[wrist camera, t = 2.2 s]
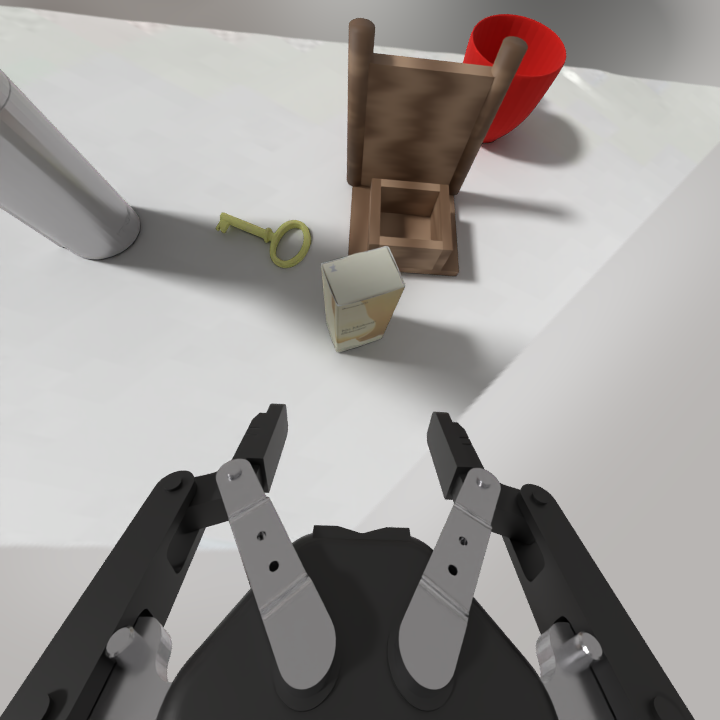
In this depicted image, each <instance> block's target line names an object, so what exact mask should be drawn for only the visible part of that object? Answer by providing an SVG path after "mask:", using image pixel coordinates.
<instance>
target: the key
mask: <svg viewBox="0 0 720 720" xmlns="http://www.w3.org/2000/svg"><path fill="white" fill-rule="evenodd" d="M230 225H231V226H234V227H236V228H239V229H241V230H244V231H246V232H249V233H251V234H254V235H256V236H259V237H261V238H263V239H264V241H265V242H266V243H268V242H269V241H271V244H270V257H271V259H272V261H273V262H274V263H275V264H276V265H277V266H279V267H282V268H289V267H293V266H295V265H296V264H298V263H299V262H300V261H302V260H303V258H304V257H305V256H306V254H307V252H308V250H309V247H310V244H311V236H310V232H309V230H308V228H307V226H306V225H305V224H304V223H302V222H300V221H298V220H290V221H287V222H285V223H284V224H282V225H281V226H280V227H279V228H278V230H277V231H276V232H275V233H273V232H272V230H271V228H267V229H266V230H265V229H263V228H261V227H258V226H256V225H253V224H251V223H248V222H246V221H243V220H241V219H238V218H236V217H233V216H231V215H228V214H226V213H221V215H220V222H219V223H218V225H217V227H216V230H218V231H219V230H221V232H223V233H225V232H226V231H227V229H228V227H229V226H230ZM292 228H298V229H301V230H302V231H303V234H304V241H303V245H302V248H301V250H300V251H299V253H298V254H297V255H296V256H295V257H293V258H292V259H290V260H287V261H283V260H280V259H278V258H277V257H276V248H277V245H278V243H279V241H280V239H281V238H282V236H283V235H284V234H285V233H286V232H287V231H289V230H290V229H292Z"/></svg>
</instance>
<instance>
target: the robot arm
mask: <svg viewBox="0 0 720 720" xmlns="http://www.w3.org/2000/svg"><path fill="white" fill-rule="evenodd" d="M0 208H1V209H3V210H4V211H6V212H8V213H9V214H11V215H12V216H14V217H15V218H17V219H18V220H20V221H21V222H23V223H24V224H26V225H28V226H29V227H31V228H32V229H34V230H35V231H37V232H38V233H40V234H41V235H43V236H44V237H46V238H47V239H49V240H51V241H52V242H54V243H55V244H57V245H58V246H60V247H65V248H67V249H68V250H70V251H71V252H73V253H74V254H76V255H78V256H80V257H83V258H87V259H104V258H108V257H112V256H114V255H117V254H119V253H121V252H122V251H124V250H125V249H127V248H128V247H129V246H130V245H131V244H132V243H133V242H134V240H135V239H136V238H137V236H138V233H139V230H140V220H139V217H138V215H137V213H136V212H135V211H134V210H133V208H132V207H131V206H130V205H129V204H128V203H127V202H126V201H125V200H124V199H123V198H122V197H121V196H120V195H119V194H118V193H117V192H116V191H115V189H114V188H113V187H112V186H111V185H110V184H109V183H108V182H107V181H106V180H105V179H104V178H103V177H102V176H101V175H100V173H99V172H98V171H97V170H96V169H95V168H94V167H93V166H92V165H91V164H90V163H89V162H88V161H87V160H86V159H85V158H84V157H83V156H82V155H81V153H80V152H79V151H78V150H77V149H76V148H75V147H74V146H73V145H72V144H71V143H70V142H69V141H68V140H67V139H66V138H65V137H64V136H63V135H62V133H61V132H60V131H59V130H58V129H57V128H56V127H55V126H54V125H53V124H52V123H51V122H50V121H49V120H48V119H47V118H46V117H45V116H44V115H43V113H42V112H41V111H40V110H39V109H38V108H37V107H36V106H35V105H34V104H33V103H32V102H31V101H30V100H29V99H28V98H27V97H26V96H25V95H24V93H23V92H22V91H21V90H20V89H19V88H18V87H17V86H16V85H15V84H14V83H13V82H12V81H11V80H10V79H9V78H8V77H7V76H6V75H5V74H4V73H3V71H2V70H1V69H0ZM287 432H288V421H287V410H286V405H285V404H270V406H269V408H268V411H267V413H259V414H258V415H257V416H256V417H255V418H254V419H252V421H251V423H250V425H249V428H248V429H247V431H246V433H245V435H244V437H243V439H242V441H241V443H240V445H239V447H238V449H237V451H236V453H235V455H234V457H233V459H232V460H231V461H229V462H227V463H225V464H224V465H223V466H221V467H220V469H219V470H218V471H217V472H214V473H211V474H207V475H203V476H198V477H194V476H193V474H192V473H191V472H189V471H177V472H174V473H171V474H169V475H167V476H166V477H164V478H163V479H161V480H160V481H159V482H158V483H157V485H156V486H155V487H154V489H153V490H152V492H151V493H150V495H149V496H148V498H147V499H146V501H145V502H144V504H143V505H142V507H141V508H140V510H139V511H138V513H137V514H136V516H135V517H134V519H133V520H132V522H131V523H130V525H129V526H128V528H127V529H126V531H125V532H124V534H123V535H122V537H121V538H120V540H119V541H118V542H117V544H116V545H115V547H114V548H113V550H112V551H111V553H110V555H109V556H108V557H107V559H106V560H105V562H104V563H103V565H102V566H101V568H100V569H99V571H98V572H97V574H96V575H95V577H94V578H93V580H92V581H91V583H90V584H89V586H88V587H87V589H86V590H85V592H84V593H83V595H82V596H81V598H80V599H79V601H78V602H77V604H76V605H75V607H74V608H73V610H72V611H71V613H70V614H69V615H68V617H67V618H66V620H65V621H64V623H63V624H62V626H61V627H60V629H59V630H58V632H57V633H56V635H55V636H54V638H53V639H52V641H51V642H50V644H49V645H48V647H47V648H46V650H45V651H44V653H43V654H42V656H41V657H40V659H39V660H38V662H37V663H36V665H35V666H34V668H33V669H32V671H31V672H30V674H29V675H28V676H27V678H26V680H25V681H24V683H23V684H22V686H21V687H20V688H19V690H18V691H17V693H16V694H15V696H14V697H13V699H12V700H11V702H10V703H9V705H8V706H7V708H6V709H5V711H4V712H3V714H2V715H1V717H0V720H695V719H694V718H693V716H692V715H691V713H690V712H689V710H688V708H687V707H686V705H685V704H684V702H683V701H682V699H681V697H680V696H679V694H678V693H677V691H676V689H675V688H674V686H673V685H672V683H671V682H670V680H669V678H668V677H667V675H666V674H665V672H664V671H663V669H662V667H661V666H660V664H659V663H658V661H657V660H656V658H655V656H654V655H653V654H652V652H651V650H650V649H649V647H648V645H647V644H646V643H645V641H644V639H643V638H642V636H641V634H640V633H639V631H638V630H637V628H636V626H635V625H634V623H633V622H632V620H631V619H630V617H629V616H628V614H627V612H626V611H625V609H624V608H623V606H622V604H621V603H620V601H619V600H618V598H617V597H616V595H615V593H614V592H613V590H612V589H611V587H610V586H609V584H608V582H607V581H606V579H605V578H604V576H603V574H602V573H601V571H600V570H599V568H598V567H597V565H596V564H595V562H594V561H593V559H592V557H591V556H590V554H589V552H588V551H587V549H586V548H585V546H584V545H583V543H582V541H581V540H580V539H579V537H578V535H577V534H576V532H575V530H574V529H573V527H572V526H571V524H570V522H569V521H568V519H567V518H566V516H565V515H564V513H563V511H562V510H561V508H560V507H559V505H558V504H557V502H556V500H555V499H554V498H553V497H552V496H551V494H549V493H548V492H547V491H546V490H544V489H543V488H541V487H539V486H536V485H533V484H526V485H523V486H522V488H521V490H519V489H516V488H512V487H509V486H506V485H503V484H501V483H499V481H498V480H497V478H496V477H495V476H494V475H493V474H492V473H490V472H489V471H487V470H485V469H484V467H483V465H482V464H481V461H480V459H479V457H478V455H477V453H476V451H475V449H474V448H473V446H472V443H471V441H470V439H468V435H467V433H466V431H465V429H464V428H462V427H461V426H460V425H459V424H458V423H457V422H452V420H451V418H450V415H449V414H448V413H447V412H433V414H432V417H431V420H430V424H429V428H428V432H427V443H428V446H429V450H430V453H431V456H432V459H433V462H434V466H435V469H436V472H437V475H438V479H439V482H440V485H441V488H442V492H443V495H444V498H445V499H449V500H453V502H454V505H453V508H452V510H451V512H450V514H449V517H448V519H447V521H446V524H445V526H444V528H443V530H442V532H441V535H440V537H439V539H438V541H437V544H436V546H435V548H434V550H432V549H431V548H430V547H429V546H428V545H426V544H425V543H424V542H422V541H420V540H419V539H416V538H414V537H411V536H410V530H409V528H392V527H389V528H388V527H386V528H382V529H378V530H374V531H370V532H367V533H358V532H355V531H352V530H349V529H346V528H342V527H339V526H321V525H314V529H313V533H312V534H308V535H306V536H303V537H301V538H299V539H298V540H296V541H295V542H293V543H291V541H290V539H289V537H288V535H287V532H286V530H285V528H284V526H283V524H282V522H281V520H280V518H279V516H278V514H277V512H276V510H275V508H274V506H273V504H272V502H271V500H270V498H269V497H266V495H265V493H269V491H270V488H271V485H272V482H273V478H274V475H275V472H276V469H277V466H278V463H279V459H280V456H281V453H282V450H283V447H284V444H285V440H286V437H287ZM226 521H229V523H230V526H231V529H232V532H233V535H234V538H235V541H236V544H237V547H238V550H239V553H240V556H241V559H242V562H243V566H244V568H245V572H246V575H247V578H248V581H249V584H250V587H251V589H250V590H249V591H248V592H247V593H246V595H245V596H244V597H243V598H242V599H241V600H240V602H238V604H237V605H236V606H235V607H234V608H233V609H232V611H231V612H230V613H229V614H228V615H227V616H226V617H225V619H224V620H223V621H222V622H221V623H220V624H219V625H218V626H217V628H216V629H215V630H214V631H213V632H212V633H211V634H210V636H209V637H208V638H207V639H206V640H205V641H204V643H203V644H202V645H201V646H200V647H199V648H198V649H197V650H196V651H195V653H194V654H193V655H192V656H191V657H190V658H189V660H188V661H187V662H186V663H185V664H184V666H183V667H182V668H181V670H180V671H179V673H178V674H177V676H176V677H175V679H174V681H173V682H172V683H169V682H168V679H167V666H168V661H169V658H170V654H171V649H172V641H171V637H170V635H169V634H168V632H167V631H166V630H165V629H164V625H165V623H166V620H167V618H168V616H169V613H170V611H171V609H172V606H173V604H174V602H175V599H176V597H177V594H178V592H179V590H180V587H181V585H182V583H183V580H184V578H185V575H186V573H187V571H188V568H189V566H190V563H191V561H192V559H193V557H194V554H195V552H196V550H197V547H198V545H199V542H200V540H201V538H202V535H203V533H204V531H205V528H206V527H209V526H212V525H215V524H219V523H222V522H226ZM491 532H494V533H497V534H500V535H502V537H503V540H504V542H505V545H506V547H507V550H508V552H509V555H510V557H511V560H512V563H513V565H514V568H515V570H516V573H517V575H518V578H519V580H520V583H521V585H522V588H523V590H524V593H525V595H526V598H527V600H528V603H529V605H530V608H531V610H532V613H533V616H534V618H535V621H536V623H537V626H538V628H539V631H540V633H541V636H540V637H539V638H538V640H537V643H536V653H537V657H538V661H539V665H540V671H541V678H540V677H539V676H538V674H537V673H536V671H535V670H534V668H533V667H532V666H531V665H530V663H529V662H528V661H527V660H526V658H525V657H524V656H523V655H522V654H521V652H520V651H519V650H518V649H517V648H516V647H515V645H514V644H513V643H512V642H511V641H510V639H509V638H508V637H507V636H506V635H505V634H504V632H503V631H502V630H501V629H500V628H499V627H498V625H497V624H496V623H495V622H494V621H493V619H492V618H491V617H490V616H489V615H488V614H487V612H486V611H485V610H484V609H483V608H482V606H481V605H480V604H479V603H478V602H477V601H476V599H475V598H474V597H473V595H474V592H475V588H476V585H477V581H478V577H479V574H480V570H481V566H482V563H483V559H484V556H485V552H486V548H487V545H488V541H489V537H490V534H491Z"/></svg>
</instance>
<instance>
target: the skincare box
mask: <svg viewBox="0 0 720 720" xmlns="http://www.w3.org/2000/svg"><path fill="white" fill-rule="evenodd" d="M321 271H322V281H323V292H324V303H325V313H326V323H327V327H328V330H329V333H330V336H331V339H332V342H333V344H334V347H335V349H336V351H337V352H342V351H346V350H349V349H352V348H356V347H359V346H362V345H365V344H367V343H370V342H373V341H376V340H378V339H381V338H382V337H383V334H384V332H385V330H386V328H387V325H388V323H389V321H390V319H391V317H392V314H393V312H394V310H395V308H396V305H397V303H398V301H399V299H400V297H401V294H402V292H403V290H404V288H405V283H404V281H403V279H402V276H401V274H400V271H399V269H398V267H397V264H396V262H395V260H394V257H393V255H392V253H391V251H390V248H389V247H388V246H384V247H381V248H377V249H373V250H369V251H365V252H361V253H356V254H352V255H349V256H346V257H343V258H339V259H335V260H332V261H328V262H323V263H321Z"/></svg>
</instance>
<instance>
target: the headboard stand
mask: <svg viewBox="0 0 720 720" xmlns="http://www.w3.org/2000/svg"><path fill="white" fill-rule="evenodd" d="M374 36H375V25H374V24H373V23H372V22H371V21H370V20H367V19H364V18H356V19H353V20H352V21H350V23H349V50H348V130H347V182H348V184H349V185H351V186H353V188H352V203H351V219H350V234H349V250H348V256H349V255H352V254H356V253H361V252H365V251H369V250H373V249H377V248H381V247H384V246H388V247H389V248H390V251H391V253H392V255H393V257H394V260H395V262H396V264H397V267H398V269H399V271H400V272H407V273H420V274H434V275H447V276H456V275H457V274H458V273H459V265H458V250H457V236H456V221H455V206H454V195H456V194H458V192H459V190H460V188H461V186H462V184H463V182H464V180H465V178H466V176H467V174H468V172H469V170H470V168H471V165H472V163H473V161H474V159H475V157H476V155H477V153H478V151H479V149H480V147H481V145H482V143H483V140H484V138H485V136H486V134H487V132H488V130H489V128H490V126H491V124H492V122H493V120H494V118H495V116H496V113H497V111H498V109H499V107H500V105H501V103H502V101H503V99H504V97H505V95H506V93H507V91H508V88H509V86H510V84H511V82H512V80H513V78H514V76H515V74H516V72H517V70H518V68H519V66H520V64H521V61H522V59H523V57H524V55H525V53H526V51H527V49H528V45H527V43H526V42H525V41H524V40H523V39H521V38H518V37H514V36H509V37H506V38H505V39H504V40H503V42H502V45H501V47H500V49H499V52H498V54H497V57H496V59H495V62H494V64H493V67H492V66H483V65H474V64H465V63H456V62H448V61H439V60H430V59H421V58H412V57H403V56H395V55H386V54H377V53H373V49H374Z"/></svg>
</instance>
